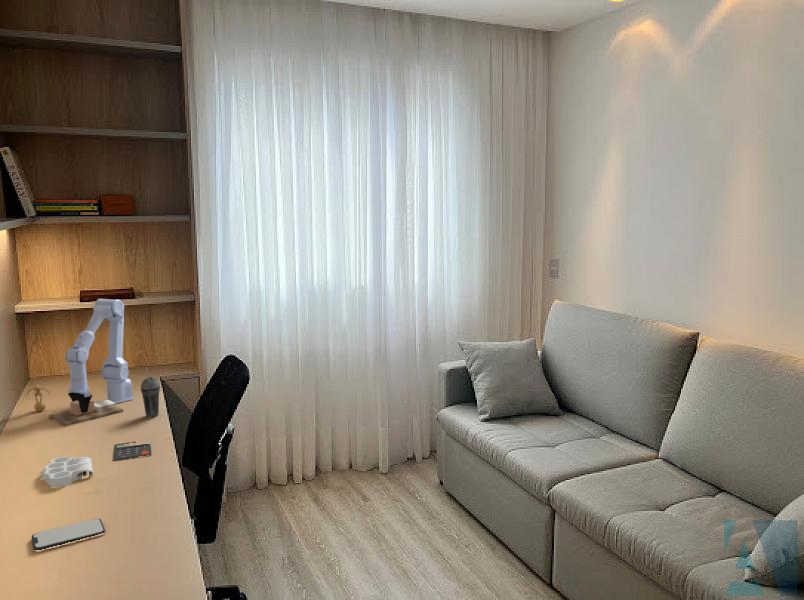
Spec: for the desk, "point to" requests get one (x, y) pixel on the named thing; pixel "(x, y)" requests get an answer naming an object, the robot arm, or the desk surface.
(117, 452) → the calculator
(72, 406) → the tall pink cuboid
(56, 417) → the ticket board
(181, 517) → the desk surface
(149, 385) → the beverage cup
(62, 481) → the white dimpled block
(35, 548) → the phone case
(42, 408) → the figurine
